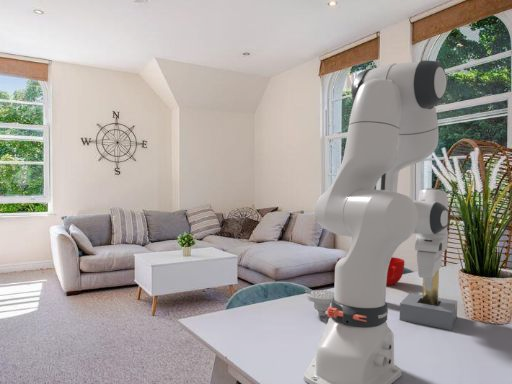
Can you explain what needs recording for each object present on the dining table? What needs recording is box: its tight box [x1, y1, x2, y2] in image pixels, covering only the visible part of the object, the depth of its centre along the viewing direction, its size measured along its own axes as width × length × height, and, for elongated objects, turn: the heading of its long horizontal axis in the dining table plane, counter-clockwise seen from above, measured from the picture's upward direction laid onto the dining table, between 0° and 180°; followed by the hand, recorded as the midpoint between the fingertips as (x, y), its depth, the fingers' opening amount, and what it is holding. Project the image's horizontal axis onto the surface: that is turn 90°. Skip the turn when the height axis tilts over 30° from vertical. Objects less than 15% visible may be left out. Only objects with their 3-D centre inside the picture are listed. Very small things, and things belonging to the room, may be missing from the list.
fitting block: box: [399, 292, 458, 331], centre depth 118 cm, size 14×14×5 cm
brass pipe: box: [421, 269, 440, 305], centre depth 118 cm, size 4×4×10 cm
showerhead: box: [305, 289, 334, 317], centre depth 119 cm, size 9×7×10 cm
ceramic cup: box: [386, 256, 405, 286], centre depth 159 cm, size 13×17×10 cm
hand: (430, 287), depth 118 cm, fingers closed on brass pipe, 4 cm apart
